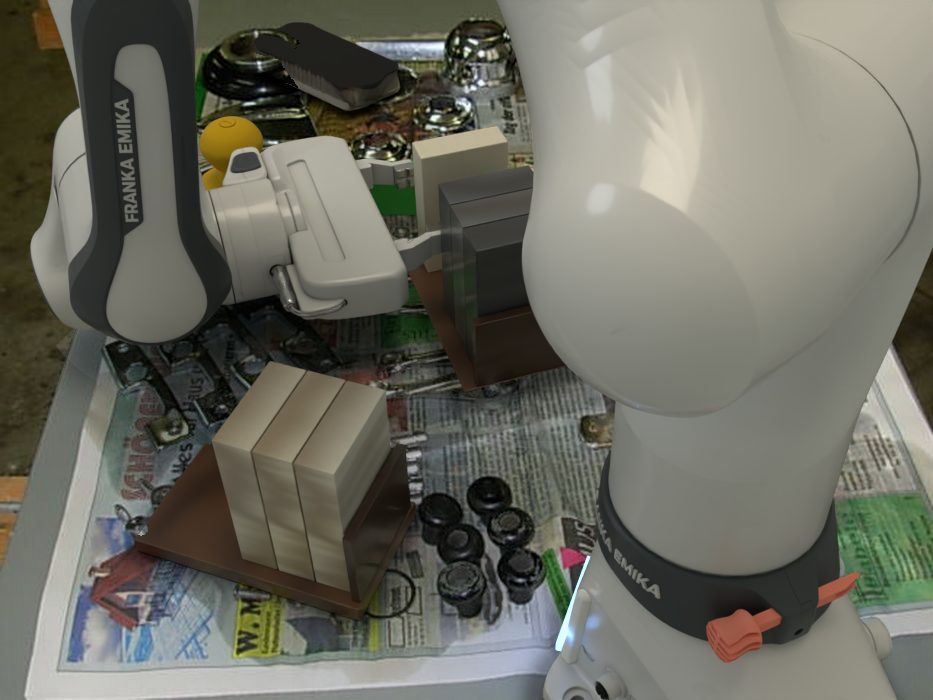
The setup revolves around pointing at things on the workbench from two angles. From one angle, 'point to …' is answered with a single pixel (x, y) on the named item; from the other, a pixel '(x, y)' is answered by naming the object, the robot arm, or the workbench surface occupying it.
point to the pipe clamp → (394, 199)
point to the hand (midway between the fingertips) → (432, 202)
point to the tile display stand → (293, 494)
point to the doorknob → (226, 145)
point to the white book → (452, 170)
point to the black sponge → (331, 66)
